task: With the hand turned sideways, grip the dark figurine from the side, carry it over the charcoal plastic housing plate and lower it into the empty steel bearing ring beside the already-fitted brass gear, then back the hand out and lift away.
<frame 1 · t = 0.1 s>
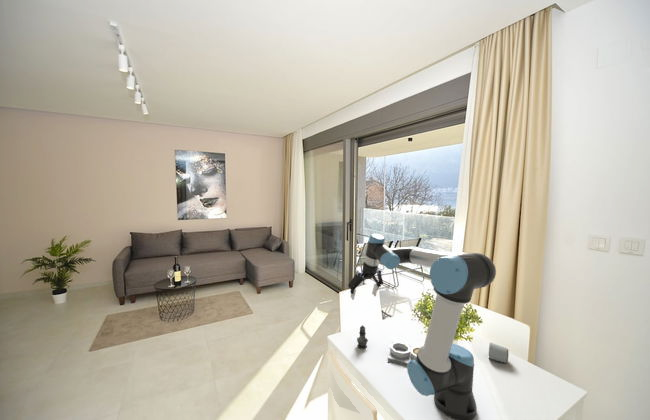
hand: (363, 296, 143), 28 cm above the table, tool tilted 20°, fingers open, 13 cm apart
grey rounded block: (496, 358, 136), on the table
dark figurine: (362, 346, 144), on the table
housing: (410, 357, 135), on the table
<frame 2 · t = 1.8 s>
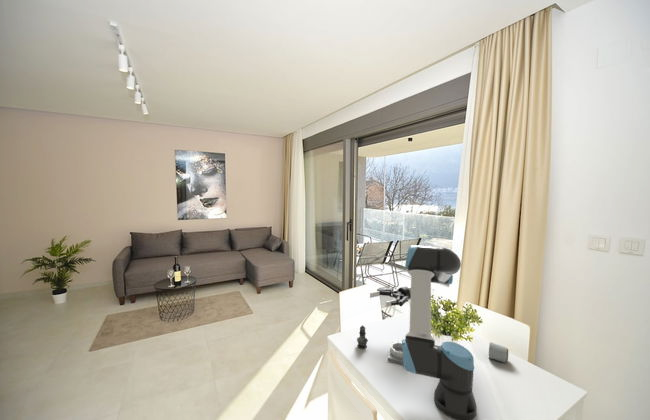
hand: (377, 299, 147), 24 cm above the table, tool horizontal, fingers open, 13 cm apart
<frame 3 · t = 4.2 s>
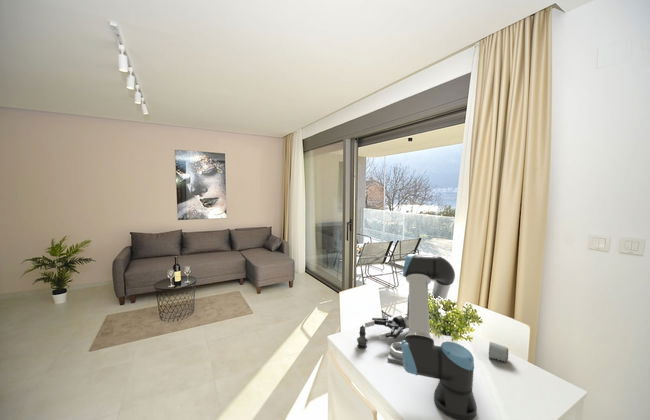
hand: (372, 330, 147), 7 cm above the table, tool horizontal, fingers open, 13 cm apart
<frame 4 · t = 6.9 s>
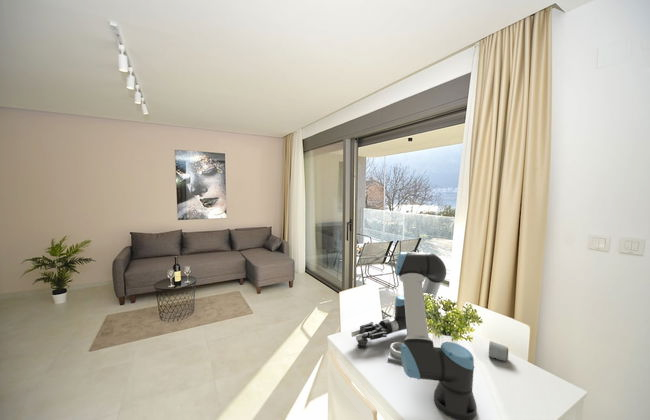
hand: (354, 336, 141), 7 cm above the table, tool horizontal, fingers closed on dark figurine, 3 cm apart
dark figurine: (362, 346, 144), on the table, touching gripper
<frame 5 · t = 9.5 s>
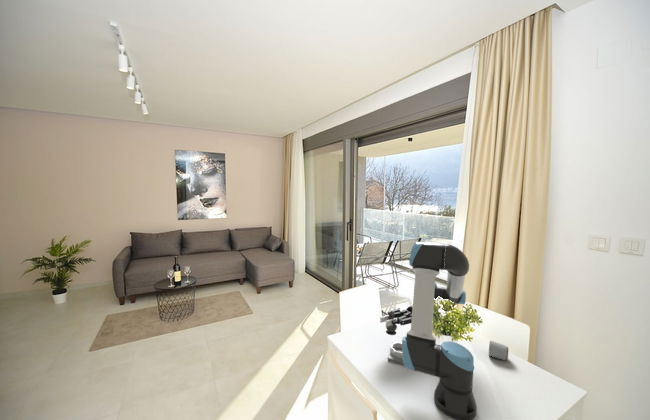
hand: (383, 321, 135), 18 cm above the table, tool horizontal, fingers closed on dark figurine, 3 cm apart
dark figurine: (391, 332, 139), point 11 cm above the table, touching gripper
when the fingers open (10 cm above the table, at t = 12.1 s): dark figurine drops 1 cm, resting on housing.
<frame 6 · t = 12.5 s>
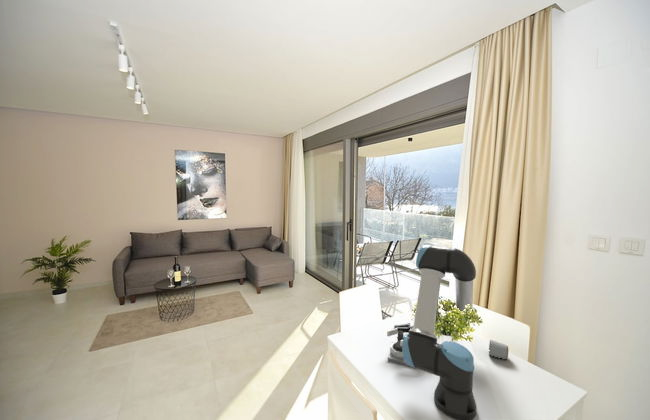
hand: (394, 338, 134), 10 cm above the table, tool horizontal, fingers open, 9 cm apart
dark figurine: (400, 352, 137), point 1 cm above the table, touching housing
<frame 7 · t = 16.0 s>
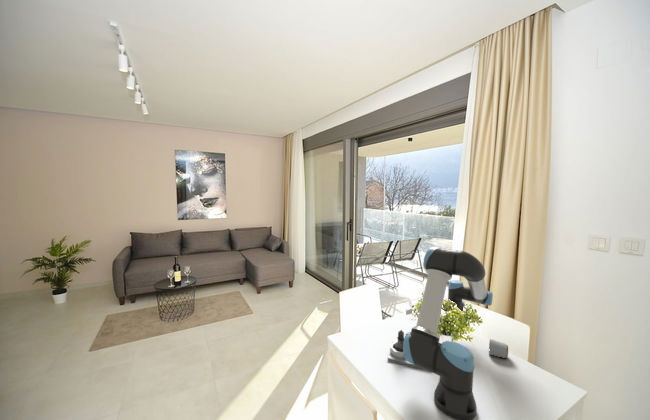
hand: (415, 317, 141), 18 cm above the table, tool horizontal, fingers open, 13 cm apart
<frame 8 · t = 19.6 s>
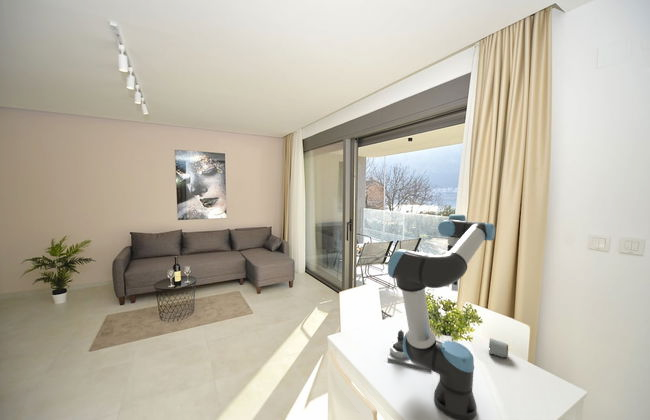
hand: (453, 286, 135), 37 cm above the table, tool pointing down, fingers open, 13 cm apart
at the end: dark figurine 0.1 cm from the target spot on the housing, point 1.3 cm above the housing's base; dark figurine tilted 0°; the gripper is holding nothing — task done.
